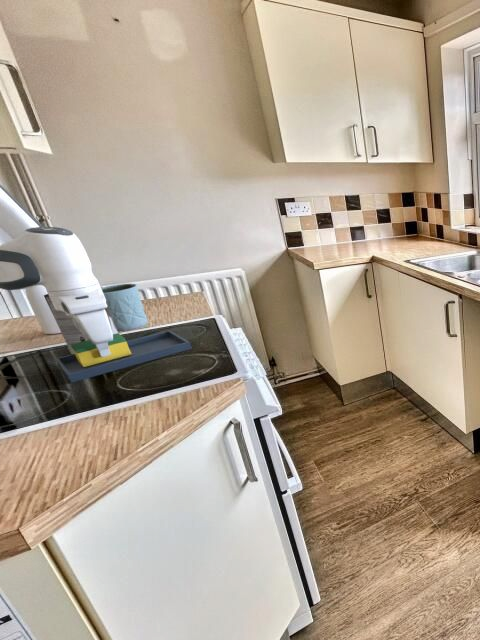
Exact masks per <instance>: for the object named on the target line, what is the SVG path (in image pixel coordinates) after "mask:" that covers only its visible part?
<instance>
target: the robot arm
mask: <svg viewBox="0 0 480 640" xmlns="http://www.w3.org/2000/svg"><path fill="white" fill-rule="evenodd" d="M0 229H1V230H2V231H4V233H5V234H7V235H8V236H9V237H10V238H11V239H12V240H10V241H7V242H5V243H2V244H0V289H1V290H5V291H20V290H21V291H22V290H26V288H29V287H33V286H38V285H43V286H44V287H45V288H46V290H47V293H48V295H49V297H50V299H51V301H52V303H53V306H54V308H55V310H58V311H63V312H65V314H66V315H67V316H71V319H72V321H73V323H74V325H75V327H76V328H77V329H78V330H79V331H80V332H81V333H82V334H83V335H84V336H85V337H86V338H87V339H88V340H90V341H91V342H92V343H93V344H94V345H96V347H97V350H98V352H99V354H100V355H101V356H102V357H105V356H109V355H110V354H111V353H110V350H109V347H108V342H110V341H112V340H113V333H112V329H111V326H110V323H109V319H108V316H107V313H106V311H105V309H104V308H107V304H106V299H105V296H104V294H103V291H102V289H101V288H102V286H101V284H100V282H99V280H98V278H97V277H96V276H95V275H94V272H93V271H92V270H93V269H92V267H93V266H92V262H91V260H90V258H89V254H88V252H87V250H86V249H85V247H84V245H83V243H82V241H81V240H80V239H79V237H78V236H77V235H76V234H75V232H73V231H72V230H69V229H66V228H63V227H57V226H44V225H42V223H41V222H40V221H39V220H38V219H37V218H35V217H34V216H33V215H32V214H31V212H30V211H28V210H27V209H26V208H25V207H24V206H23V205H22V204H21V203H20V202H19V201H18V200H17V198H15V197H14V196H13V195H12V194H11V193H10V192H9V191H8V190H7V189H6V188H4V186H2V185H1V184H0Z"/></svg>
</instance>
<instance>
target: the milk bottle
mask: <svg viewBox="0 0 480 640" xmlns="http://www.w3.org/2000/svg"><path fill="white" fill-rule="evenodd" d="M46 294H48V293H47V290H46V288H45V287H44V286H43V285H38V286H33V287H29V288H26V289H25V295H26V299H27V300H28V303H29V305H30V307H31V310H32V311H33V315H34V316H35V318H36V321H37V323H38V324H39V326H40V329H41V330H42V332H43V334H46V335H55V334H56V335H57V334H62V333H61V331H60V329H59V327H58V325H57V323H56V320H55V318H54V316H53V314H52V312H51V310H50V308H49V306H48V304H47V301H46V299H45V297H44V295H46Z"/></svg>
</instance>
